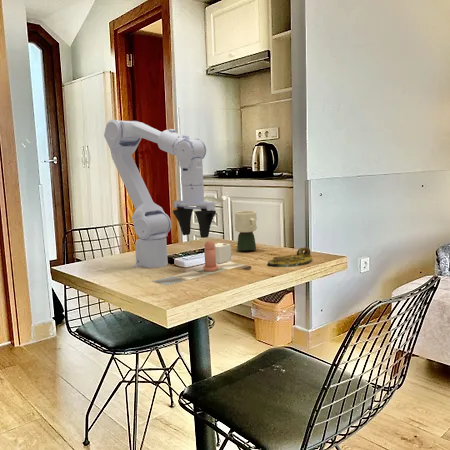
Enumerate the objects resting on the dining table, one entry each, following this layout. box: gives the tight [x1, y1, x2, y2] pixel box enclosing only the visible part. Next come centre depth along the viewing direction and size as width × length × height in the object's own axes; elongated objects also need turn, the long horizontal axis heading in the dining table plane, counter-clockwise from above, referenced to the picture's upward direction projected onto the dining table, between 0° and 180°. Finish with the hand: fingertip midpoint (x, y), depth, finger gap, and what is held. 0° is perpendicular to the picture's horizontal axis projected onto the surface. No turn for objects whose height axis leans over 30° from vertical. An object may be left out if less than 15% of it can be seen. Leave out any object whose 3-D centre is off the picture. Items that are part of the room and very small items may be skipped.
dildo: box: [202, 240, 219, 272], centre depth 128 cm, size 4×4×8 cm
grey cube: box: [214, 242, 232, 264], centre depth 144 cm, size 5×5×5 cm
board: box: [151, 261, 252, 287], centre depth 126 cm, size 10×28×1 cm, turn 134°
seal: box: [267, 246, 313, 268], centre depth 138 cm, size 9×5×15 cm
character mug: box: [234, 210, 258, 252], centre depth 157 cm, size 11×7×13 cm, turn 28°
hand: (195, 236), depth 128 cm, fingers open, 7 cm apart
